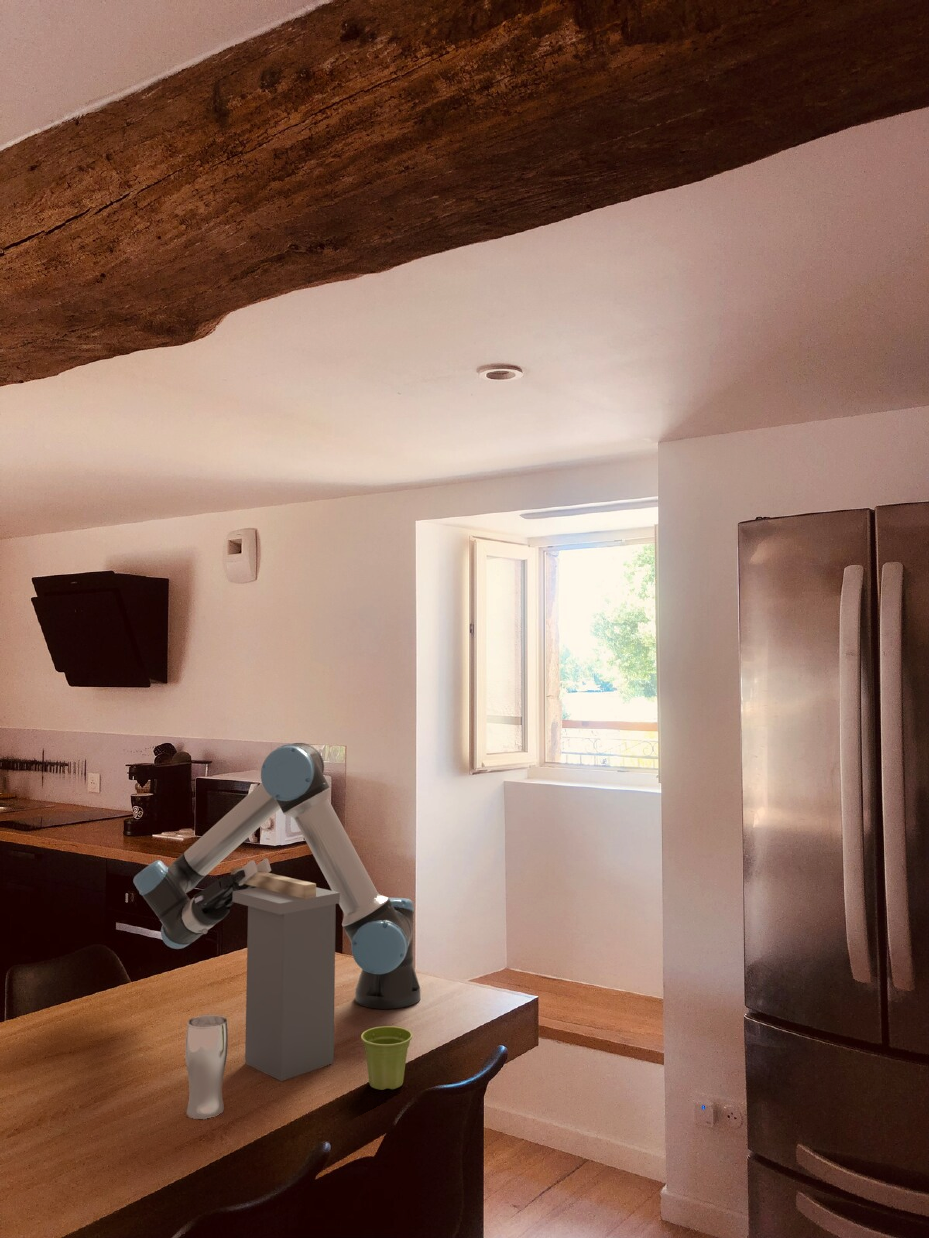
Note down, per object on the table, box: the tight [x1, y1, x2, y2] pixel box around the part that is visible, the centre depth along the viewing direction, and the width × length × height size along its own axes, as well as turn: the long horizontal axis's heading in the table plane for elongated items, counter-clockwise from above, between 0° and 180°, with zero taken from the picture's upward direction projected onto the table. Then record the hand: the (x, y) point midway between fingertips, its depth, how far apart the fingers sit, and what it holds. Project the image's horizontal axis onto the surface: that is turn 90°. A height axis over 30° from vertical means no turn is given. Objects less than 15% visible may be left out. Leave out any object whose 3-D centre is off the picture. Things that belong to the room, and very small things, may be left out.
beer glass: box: [184, 1014, 229, 1120], centre depth 164 cm, size 7×7×15 cm
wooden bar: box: [230, 866, 317, 899], centre depth 192 cm, size 26×2×2 cm, turn 45°
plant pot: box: [360, 1025, 413, 1091], centre depth 175 cm, size 9×9×9 cm
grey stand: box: [232, 886, 340, 1082], centre depth 187 cm, size 16×14×32 cm
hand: (261, 865), depth 195 cm, fingers closed on wooden bar, 2 cm apart
